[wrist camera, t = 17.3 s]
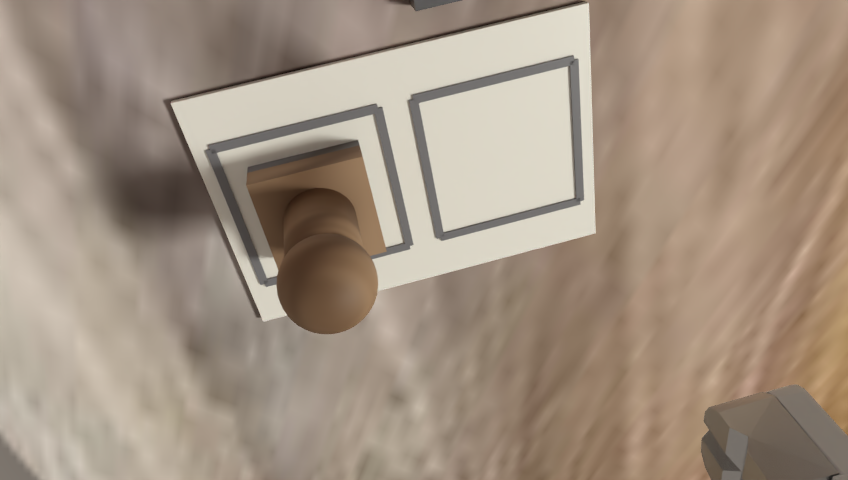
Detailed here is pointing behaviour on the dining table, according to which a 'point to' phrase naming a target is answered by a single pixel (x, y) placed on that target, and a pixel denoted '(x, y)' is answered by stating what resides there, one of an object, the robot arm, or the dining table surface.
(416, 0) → the ink pad
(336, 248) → the stamp
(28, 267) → the dining table surface
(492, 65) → the print card
